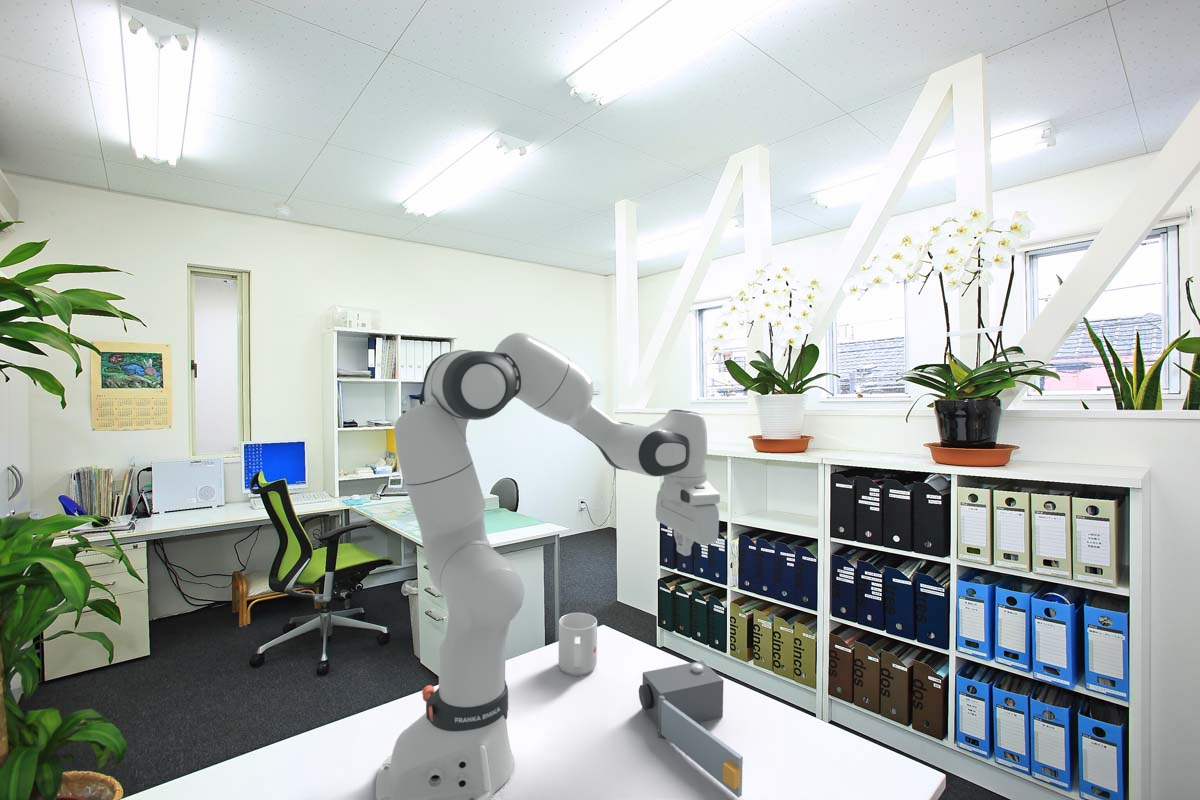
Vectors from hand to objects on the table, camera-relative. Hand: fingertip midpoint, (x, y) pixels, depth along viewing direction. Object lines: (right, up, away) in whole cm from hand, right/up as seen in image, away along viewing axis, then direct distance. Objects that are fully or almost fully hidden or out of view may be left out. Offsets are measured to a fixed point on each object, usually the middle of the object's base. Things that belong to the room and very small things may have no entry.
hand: (683, 553), depth 114 cm
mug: (-23, -31, +12) cm, 40 cm away
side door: (-1, -32, -19) cm, 37 cm away
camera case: (-1, -31, -3) cm, 31 cm away
